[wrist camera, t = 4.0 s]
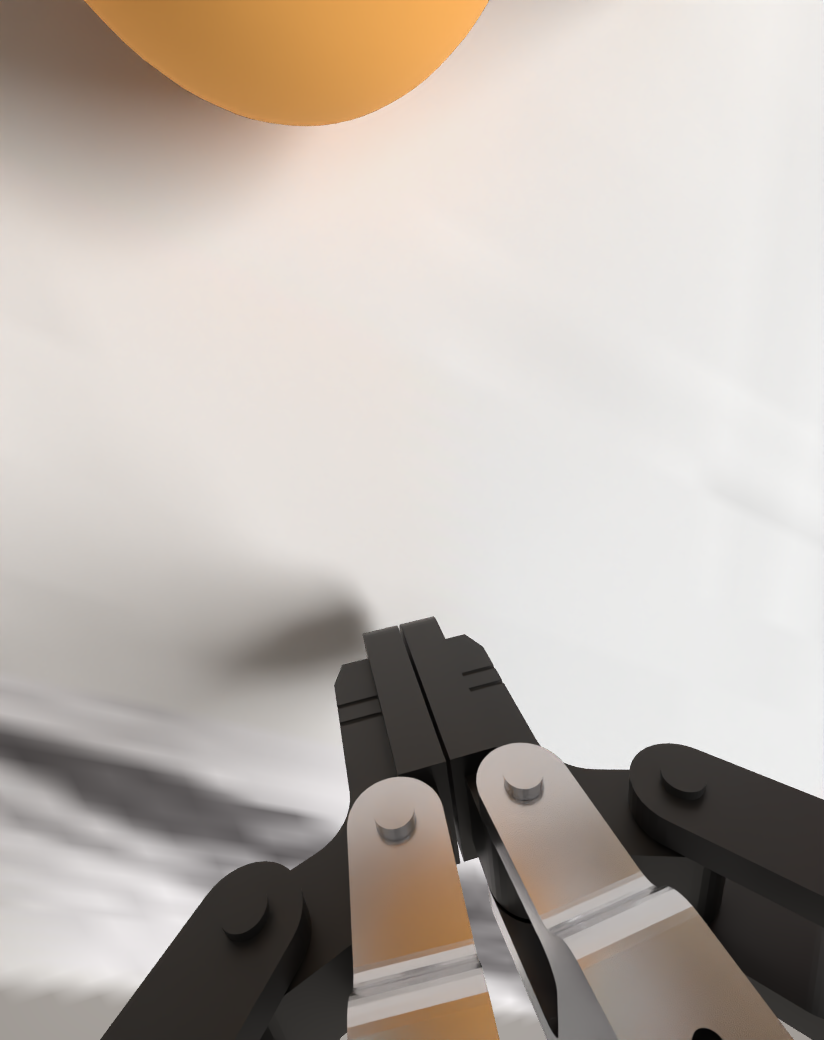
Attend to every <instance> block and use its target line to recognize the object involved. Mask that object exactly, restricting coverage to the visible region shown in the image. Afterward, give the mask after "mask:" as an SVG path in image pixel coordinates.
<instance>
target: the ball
mask: <svg viewBox="0 0 824 1040" xmlns="http://www.w3.org/2000/svg"><path fill="white" fill-rule="evenodd" d="M84 1H85V2H86V3H87V4H88V5H89V6H90V7H91V9H92V10H93V11H94V12H95V13H96V14H97V15H98V16H99V17H100V18H101V20H102V21H103V22H104V23H105V24H106V25H107V26H108V27H109V28H110V29H111V30H112V31H113V32H114V33H115V34H116V35H117V36H118V37H119V38H120V39H121V40H122V41H123V42H124V43H125V44H126V45H128V46H129V47H130V48H131V49H132V50H133V51H134V52H135V53H137V54H138V55H139V56H140V57H141V58H142V59H143V60H145V61H146V62H147V63H149V64H150V65H151V66H153V67H154V68H156V69H157V70H158V71H160V72H161V73H162V74H164V75H165V76H166V77H168V78H169V79H171V80H172V81H174V82H175V83H176V84H178V85H179V86H181V87H182V88H183V89H185V90H187V91H189V92H191V93H192V94H194V95H196V96H198V97H199V98H201V99H203V100H206V101H208V102H210V103H212V104H214V105H216V106H219V107H221V108H223V109H225V110H228V111H230V112H232V113H235V114H238V115H241V116H244V117H247V118H250V119H254V120H258V121H263V122H268V123H275V124H283V125H292V126H319V125H328V124H335V123H340V122H344V121H349V120H352V119H355V118H358V117H361V116H364V115H367V114H369V113H372V112H374V111H376V110H378V109H380V108H382V107H384V106H386V105H388V104H390V103H392V102H393V101H395V100H397V99H399V98H400V97H402V96H403V95H405V94H407V93H408V92H410V91H411V90H413V89H414V88H415V87H417V86H418V85H419V84H420V83H422V82H423V81H424V80H425V79H427V78H428V77H429V76H430V75H431V74H432V73H433V72H434V71H435V70H436V69H437V68H438V67H439V66H440V65H441V64H442V63H443V62H444V61H445V60H446V59H447V58H448V56H449V55H450V54H451V53H452V52H453V51H454V50H455V49H456V47H457V46H458V45H459V44H460V43H461V42H462V40H463V39H464V38H465V37H466V35H467V34H468V33H469V31H470V30H471V28H472V27H473V25H474V24H475V23H476V21H477V20H478V18H479V16H480V15H481V13H482V11H483V10H484V8H485V6H486V5H487V3H488V1H489V0H84Z"/></svg>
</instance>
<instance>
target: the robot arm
mask: <svg viewBox="0 0 824 1040" xmlns="http://www.w3.org/2000/svg"><path fill="white" fill-rule="evenodd" d="M363 638H364V644H365V649H366V653H367V658H368V659H365V660H361V661H357V662H353V663H349V664H345V665H342V667H341V670H340V672H339V675H338V677H337V680H336V682H335V685H334V686H335V693H336V700H337V707H338V714H339V721H340V726H341V727H340V728H341V735H342V742H343V749H344V756H345V763H346V770H347V777H348V784H349V791H350V806H349V811H348V814H347V817H346V819H345V822H344V824H343V826H342V827H341V829H340V830H339V832H338V833H337V835H336V836H335V837H334V838H333V839H332V841H331V842H329V843H328V844H327V845H326V846H325V847H324V848H323V849H322V850H320V851H319V852H318V853H316V854H315V855H313V856H312V857H310V858H309V859H307V860H306V861H304V862H303V863H301V864H299V865H298V866H296V867H295V868H293V869H292V870H289V869H288V868H286V867H285V866H283V865H281V864H278V863H275V862H267V861H264V862H255V863H251V864H247V865H245V866H243V867H240V868H238V869H236V870H235V871H233V872H231V873H229V874H228V875H227V876H225V877H224V878H223V879H221V880H220V881H219V882H218V883H217V884H216V885H215V886H214V887H213V888H212V890H211V891H210V892H209V893H208V894H207V896H206V897H205V898H204V900H203V901H202V902H201V904H200V905H199V906H198V908H197V909H196V910H195V912H194V913H193V915H192V916H191V917H190V919H189V920H188V921H187V923H186V924H185V925H184V927H183V928H182V929H181V931H180V932H179V934H178V935H177V936H176V938H175V939H174V940H173V942H172V943H171V944H170V946H169V947H168V948H167V950H166V951H165V953H164V954H163V955H162V957H161V958H160V959H159V961H158V962H157V963H156V965H155V966H154V967H153V969H152V970H151V972H150V973H149V974H148V976H147V977H146V978H145V980H144V981H143V982H142V984H141V985H140V986H139V988H138V989H137V991H136V992H135V993H134V995H133V996H132V997H131V999H130V1000H129V1001H128V1003H127V1004H126V1005H125V1007H124V1008H123V1010H122V1011H121V1012H120V1014H119V1015H118V1016H117V1018H116V1019H115V1020H114V1022H113V1023H112V1024H111V1026H110V1027H109V1029H108V1030H107V1031H106V1033H105V1034H104V1035H103V1037H102V1038H101V1039H100V1040H340V1038H341V1037H342V1036H343V1035H344V1034H345V1033H347V1038H348V1039H347V1040H499V1035H498V1031H497V1027H496V1023H495V1018H494V1014H493V1010H492V1005H491V1001H490V997H489V993H488V989H487V985H486V981H485V977H484V973H483V969H482V966H481V963H480V961H479V960H478V957H477V953H476V949H475V945H474V941H473V936H472V932H471V928H470V923H469V919H468V915H467V910H466V906H465V901H464V897H463V893H462V888H461V884H460V880H459V875H458V871H457V866H456V864H459V863H460V858H459V851H458V845H459V848H460V851H461V854H462V857H463V860H464V862H465V861H468V860H471V859H474V858H477V857H479V860H480V863H481V865H482V868H483V871H484V874H485V877H486V879H487V883H488V892H489V900H490V905H491V908H492V911H493V913H494V916H495V918H496V921H497V923H498V925H499V928H500V930H501V932H502V935H503V937H504V939H505V942H506V944H507V946H508V949H509V951H510V954H511V956H512V958H513V961H514V963H515V965H516V968H517V970H518V972H519V975H520V977H521V979H522V982H523V984H524V987H525V989H526V991H527V994H528V996H529V998H530V1001H531V1003H532V1005H533V1008H534V1010H535V1013H536V1015H537V1017H538V1020H539V1022H540V1024H541V1027H542V1029H543V1031H544V1034H545V1036H546V1038H547V1040H793V1038H792V1037H791V1036H790V1034H789V1033H788V1032H787V1030H786V1029H785V1028H784V1026H783V1025H782V1024H781V1022H780V1021H779V1020H778V1019H780V1020H782V1021H783V1022H785V1023H787V1024H788V1025H790V1026H791V1027H793V1028H795V1029H796V1030H798V1031H799V1032H801V1033H803V1034H804V1035H806V1036H807V1037H809V1038H811V1039H812V1040H824V800H823V799H820V798H818V797H815V796H813V795H810V794H808V793H805V792H803V791H800V790H798V789H795V788H793V787H790V786H787V785H785V784H782V783H780V782H777V781H775V780H772V779H770V778H767V777H765V776H762V775H760V774H757V773H755V772H752V771H750V770H747V769H745V768H742V767H740V766H737V765H735V764H732V763H730V762H727V761H725V760H722V759H720V758H717V757H714V756H712V755H709V754H707V753H704V752H702V751H699V750H697V749H694V748H691V747H688V746H684V745H679V744H670V743H668V744H657V745H653V746H650V747H647V748H645V749H643V750H642V751H640V752H639V753H638V754H637V755H636V756H635V758H634V759H633V761H632V763H631V766H630V770H600V769H584V768H579V767H575V766H571V765H568V764H566V763H564V762H562V760H561V759H560V758H559V757H558V756H556V755H555V754H554V753H552V752H551V751H549V750H548V749H545V748H543V747H541V746H540V745H539V743H538V742H537V740H536V739H535V737H534V735H533V733H532V732H531V730H530V728H529V726H528V725H527V723H526V721H525V719H524V718H523V716H522V714H521V712H520V711H519V709H518V707H517V705H516V704H515V702H514V700H513V698H512V697H511V695H510V693H509V691H508V690H507V688H506V686H505V684H504V683H502V679H501V677H500V676H499V674H498V672H497V671H496V669H495V668H494V666H493V664H492V662H491V660H490V658H489V657H488V655H487V653H486V651H485V650H484V648H483V647H482V646H481V645H479V644H478V643H477V642H475V641H474V640H472V639H471V638H469V637H468V636H466V635H465V634H464V635H460V636H456V637H452V638H448V639H445V637H444V635H443V633H442V631H441V629H440V627H439V625H438V623H437V621H436V619H435V617H434V616H433V617H429V618H425V619H421V620H417V621H413V622H409V623H405V624H400V631H399V628H398V626H393V627H389V628H385V629H380V630H376V631H372V632H368V633H364V634H363ZM457 842H458V844H457Z"/></svg>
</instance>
